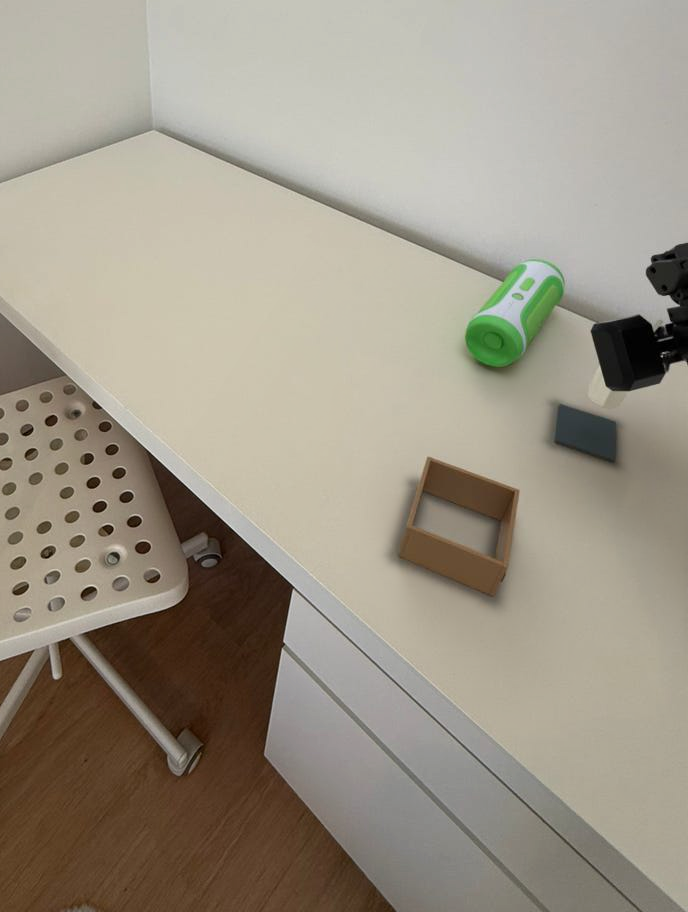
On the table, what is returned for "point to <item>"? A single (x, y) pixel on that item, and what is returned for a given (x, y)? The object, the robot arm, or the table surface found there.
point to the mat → (586, 432)
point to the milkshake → (604, 394)
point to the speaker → (515, 313)
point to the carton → (449, 554)
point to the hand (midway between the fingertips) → (619, 343)
